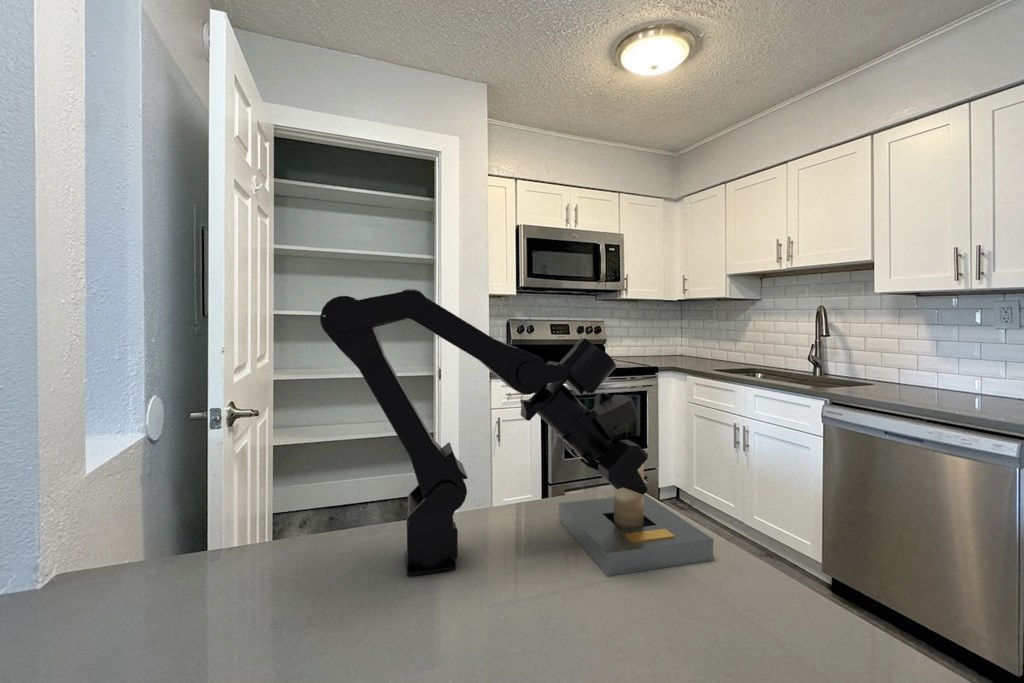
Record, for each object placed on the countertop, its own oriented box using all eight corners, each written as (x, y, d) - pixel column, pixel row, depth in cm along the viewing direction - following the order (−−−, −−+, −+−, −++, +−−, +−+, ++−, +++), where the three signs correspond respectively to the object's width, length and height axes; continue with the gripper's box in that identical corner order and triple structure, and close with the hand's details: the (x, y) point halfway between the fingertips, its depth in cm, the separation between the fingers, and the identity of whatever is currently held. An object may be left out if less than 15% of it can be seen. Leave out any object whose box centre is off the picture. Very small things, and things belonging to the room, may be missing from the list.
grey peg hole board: (607, 576, 59) (607, 551, 59) (559, 520, 77) (559, 501, 77) (713, 560, 63) (713, 537, 63) (644, 510, 81) (644, 493, 81)
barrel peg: (632, 545, 67) (632, 460, 67) (607, 535, 70) (608, 454, 70) (649, 536, 70) (649, 455, 69) (625, 527, 73) (625, 449, 73)
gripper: (634, 385, 60) (708, 464, 62) (582, 372, 78) (641, 434, 80) (577, 448, 58) (655, 526, 61) (537, 420, 76) (599, 481, 79)
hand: (636, 486), depth 70 cm, fingers open, 5 cm apart
